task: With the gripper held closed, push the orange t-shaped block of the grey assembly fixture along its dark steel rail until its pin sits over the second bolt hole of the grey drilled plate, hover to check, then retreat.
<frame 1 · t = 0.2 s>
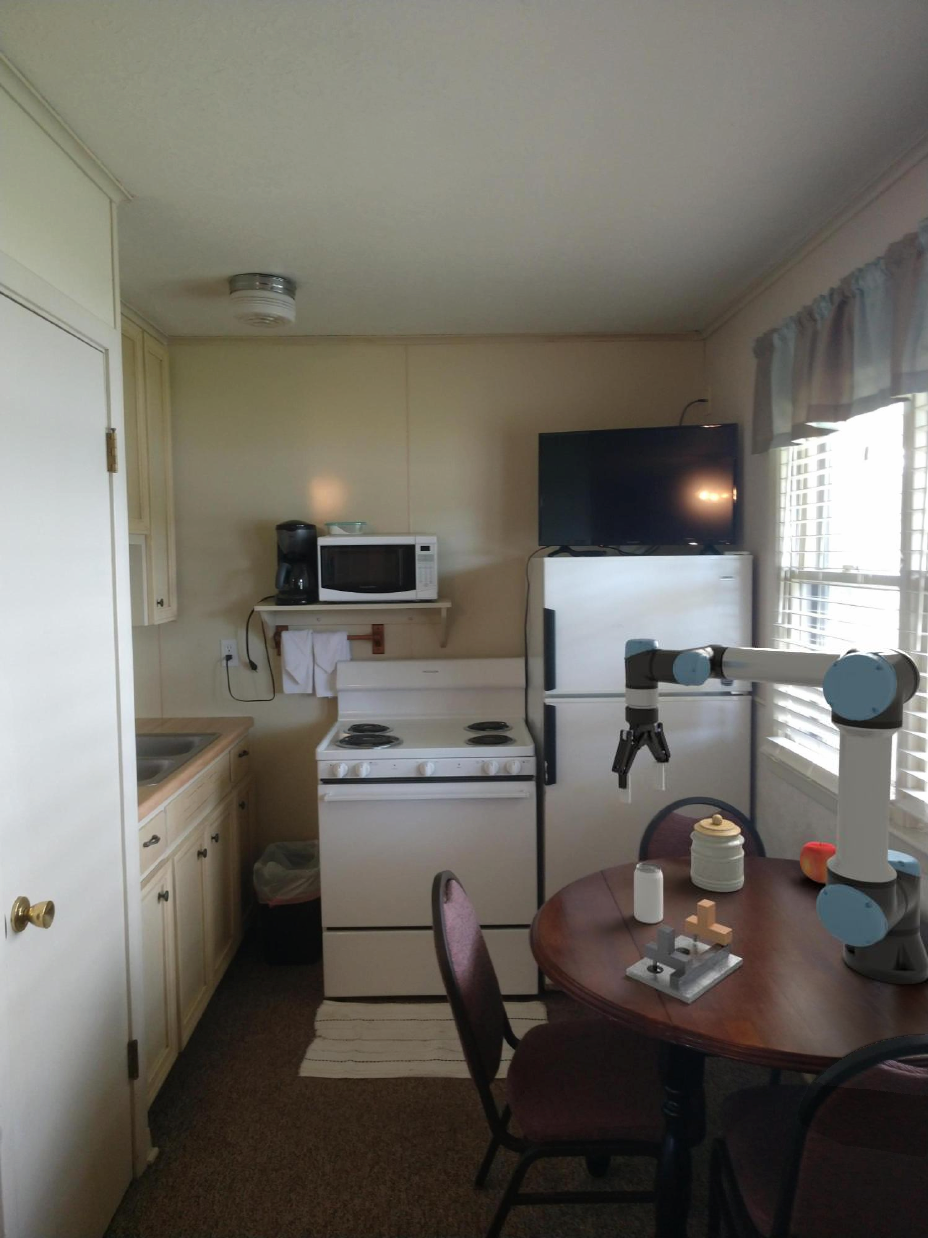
hand: (642, 795, 178), 27 cm above the table, fingers open, 13 cm apart
jar: (717, 883, 194), on the table
can: (648, 919, 175), on the table
apple: (820, 882, 194), on the table
orange t-shaped block: (708, 925, 158), point 6 cm above the table, slide at 0.0 cm
grey assembly fixture: (685, 969, 153), on the table
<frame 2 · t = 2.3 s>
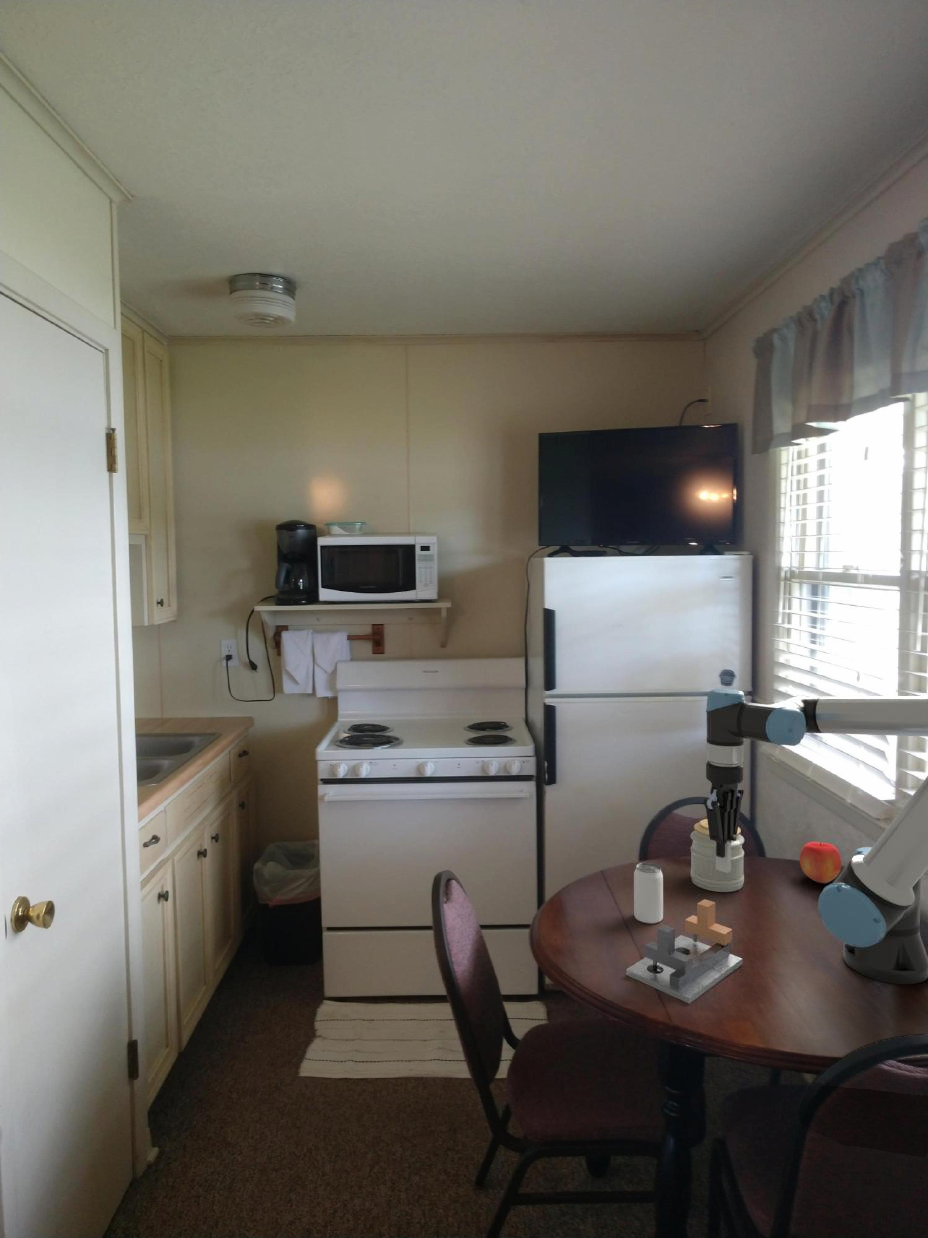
hand: (723, 870, 163), 16 cm above the table, fingers closed
nothing on the table moved.
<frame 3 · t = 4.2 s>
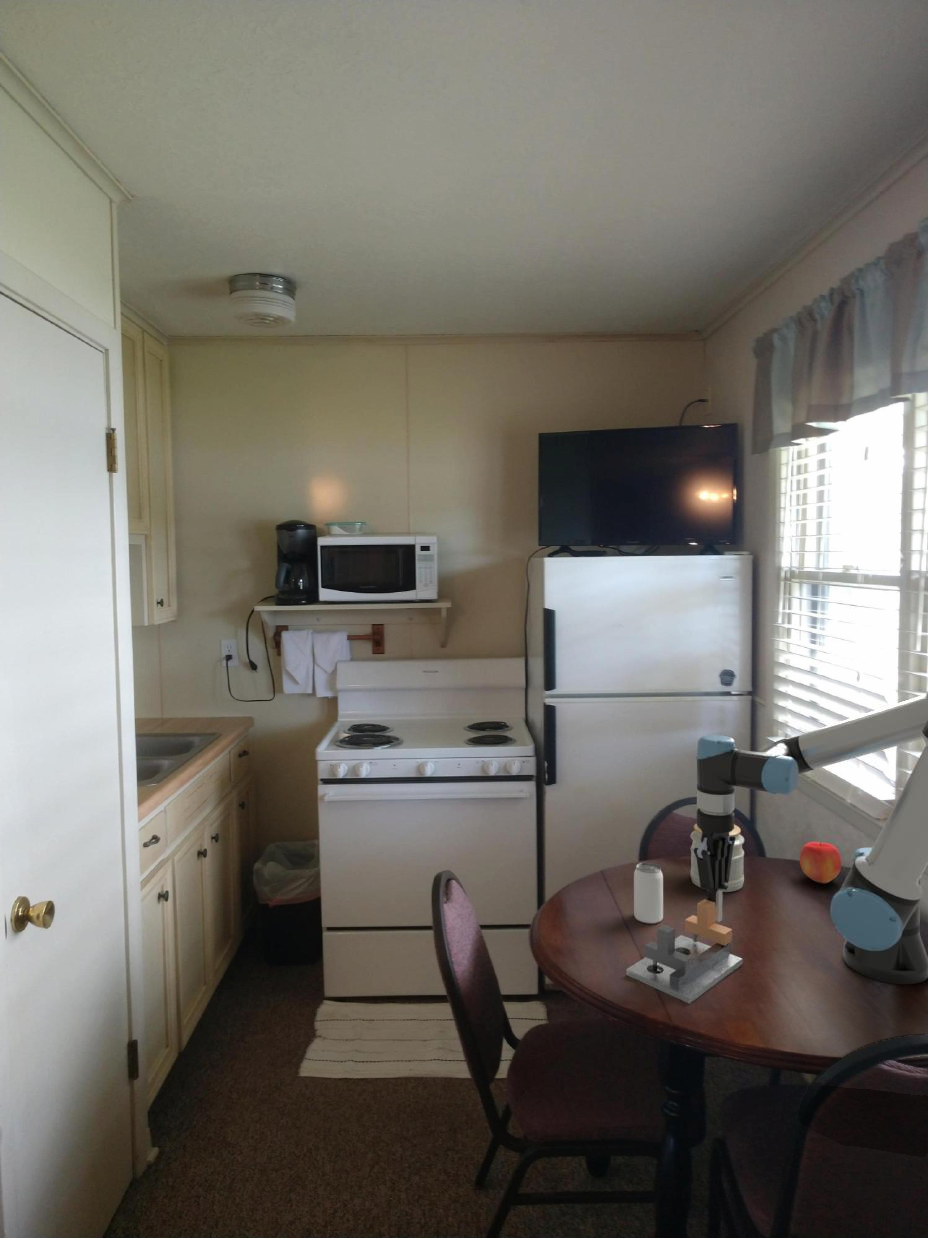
hand: (714, 918, 161), 6 cm above the table, fingers closed
orange t-shaped block: (708, 925, 158), point 6 cm above the table, slide at 0.0 cm, touching gripper
everything else where it was.
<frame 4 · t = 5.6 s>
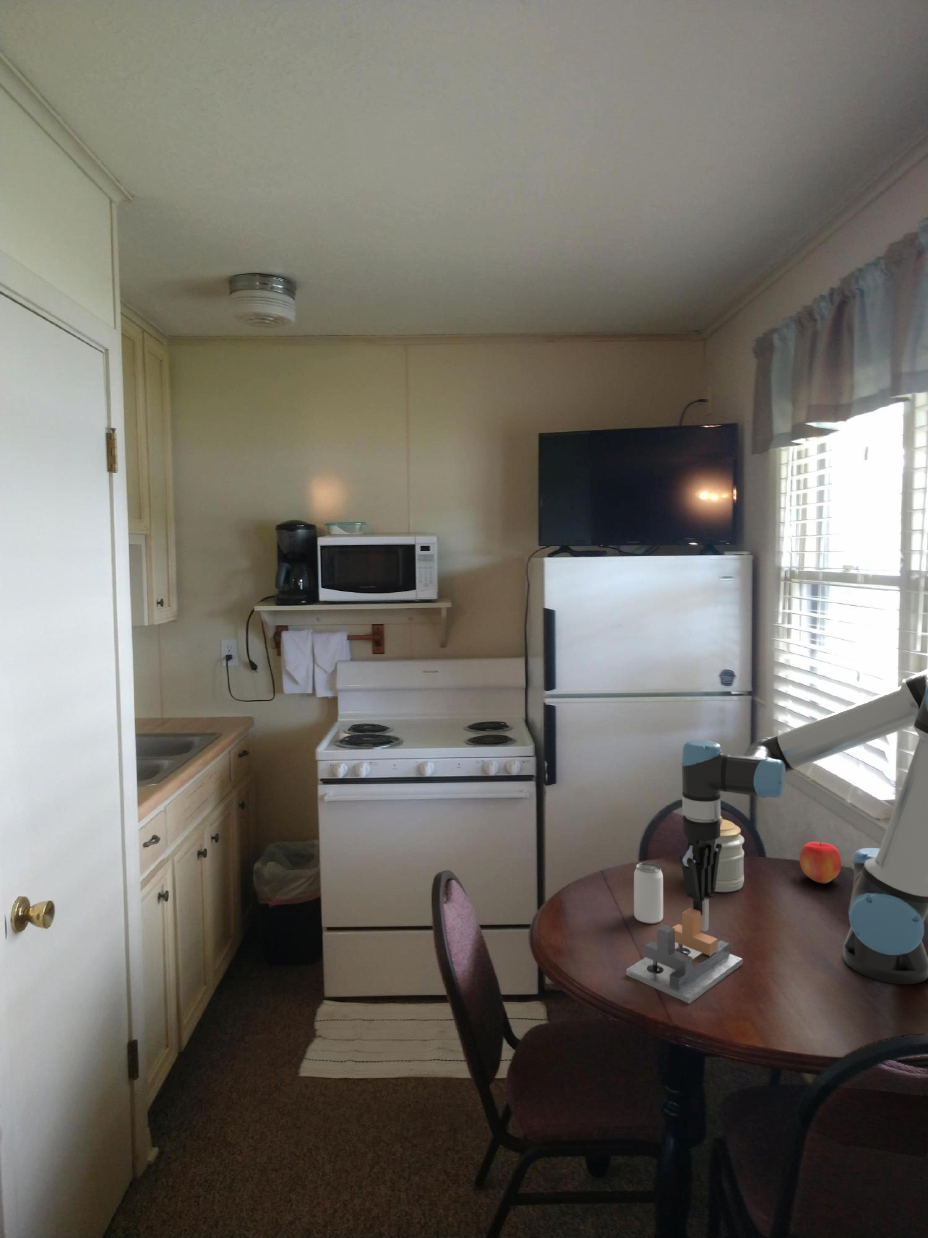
hand: (700, 928, 157), 6 cm above the table, fingers closed
orange t-shaped block: (693, 934, 154), point 6 cm above the table, slide at 5.8 cm, touching gripper
everything else where it was.
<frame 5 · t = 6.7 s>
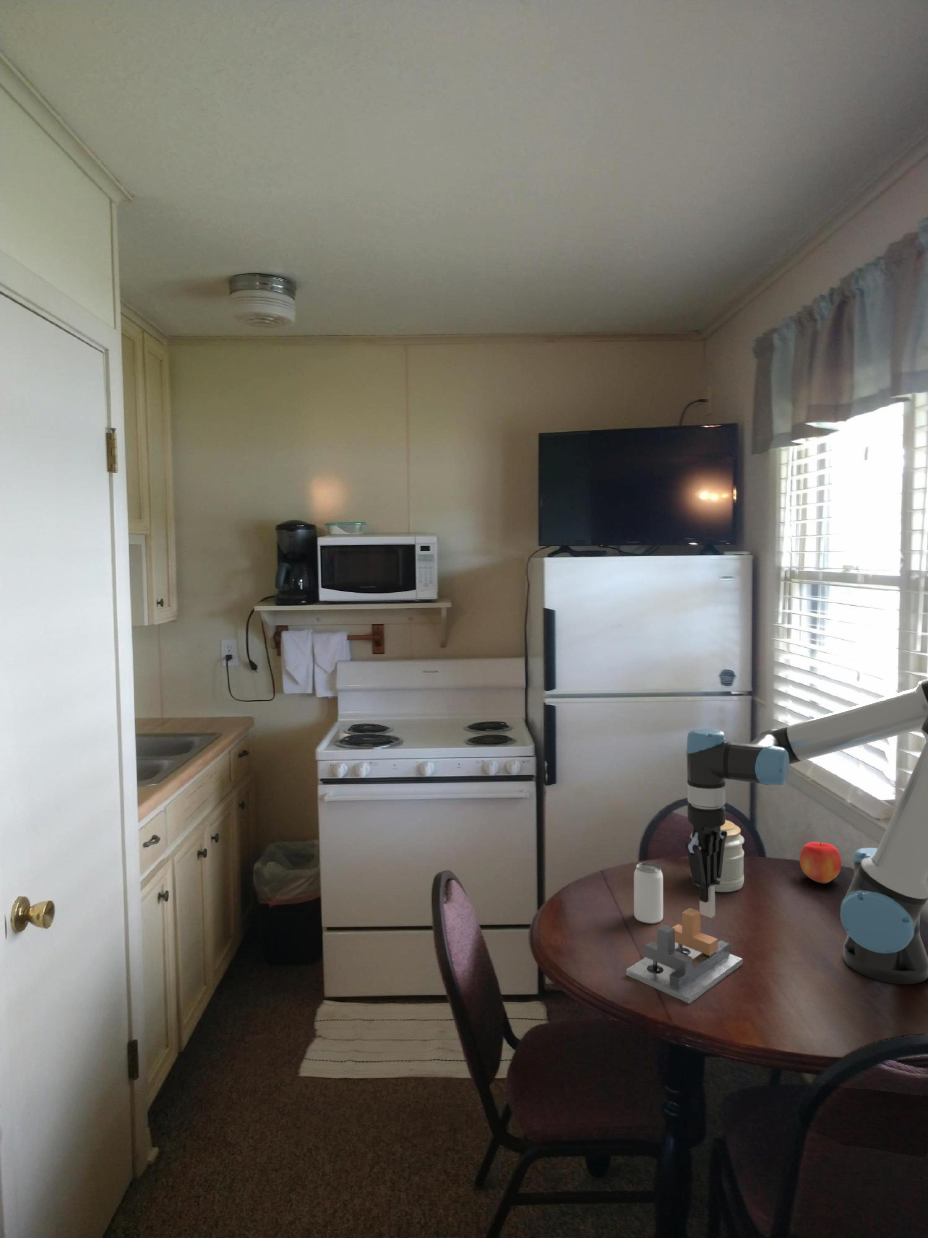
hand: (707, 914, 159), 8 cm above the table, fingers closed
orange t-shaped block: (693, 934, 154), point 6 cm above the table, slide at 5.8 cm
everything else where it was.
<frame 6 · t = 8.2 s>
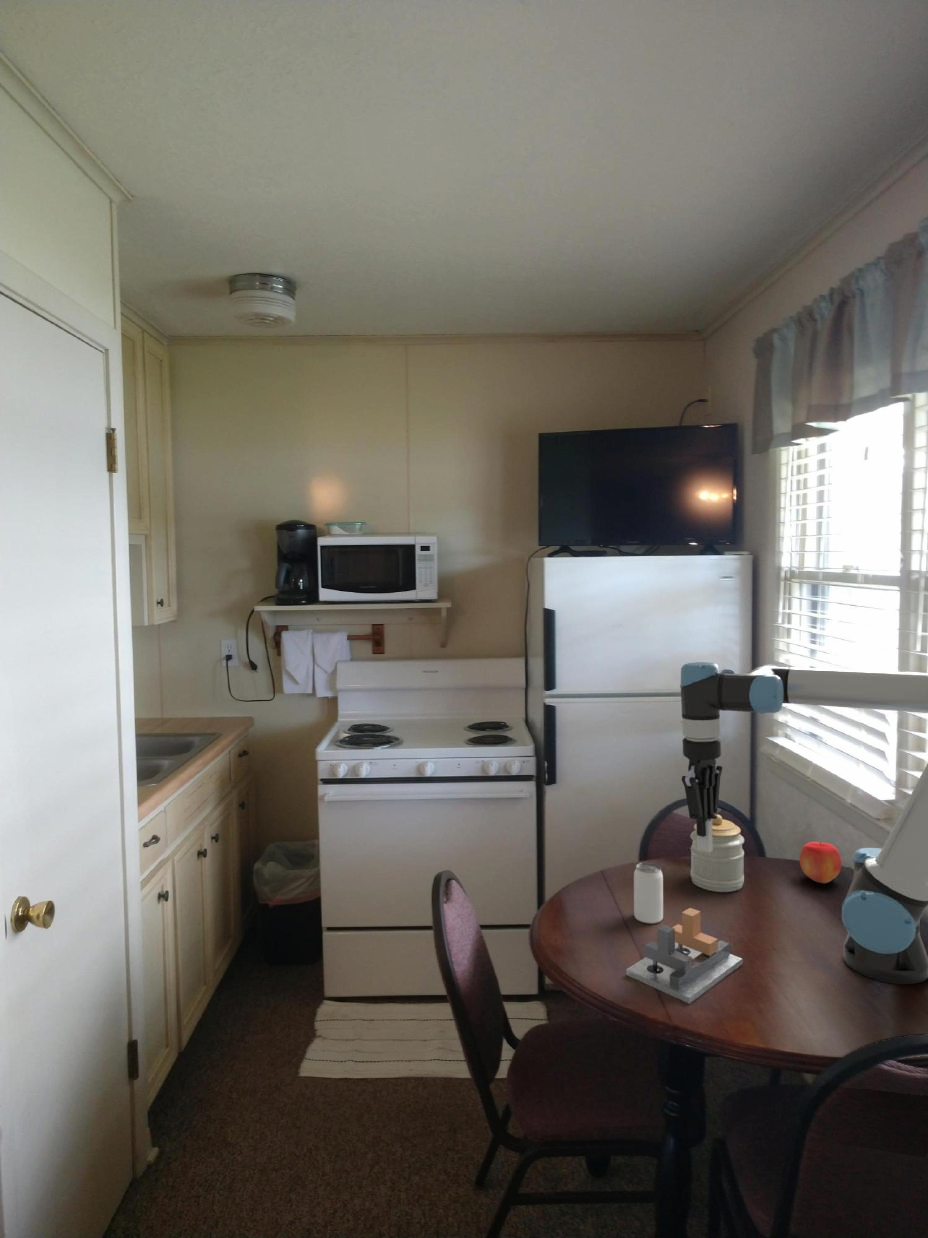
hand: (704, 850, 158), 22 cm above the table, fingers closed
nothing on the table moved.
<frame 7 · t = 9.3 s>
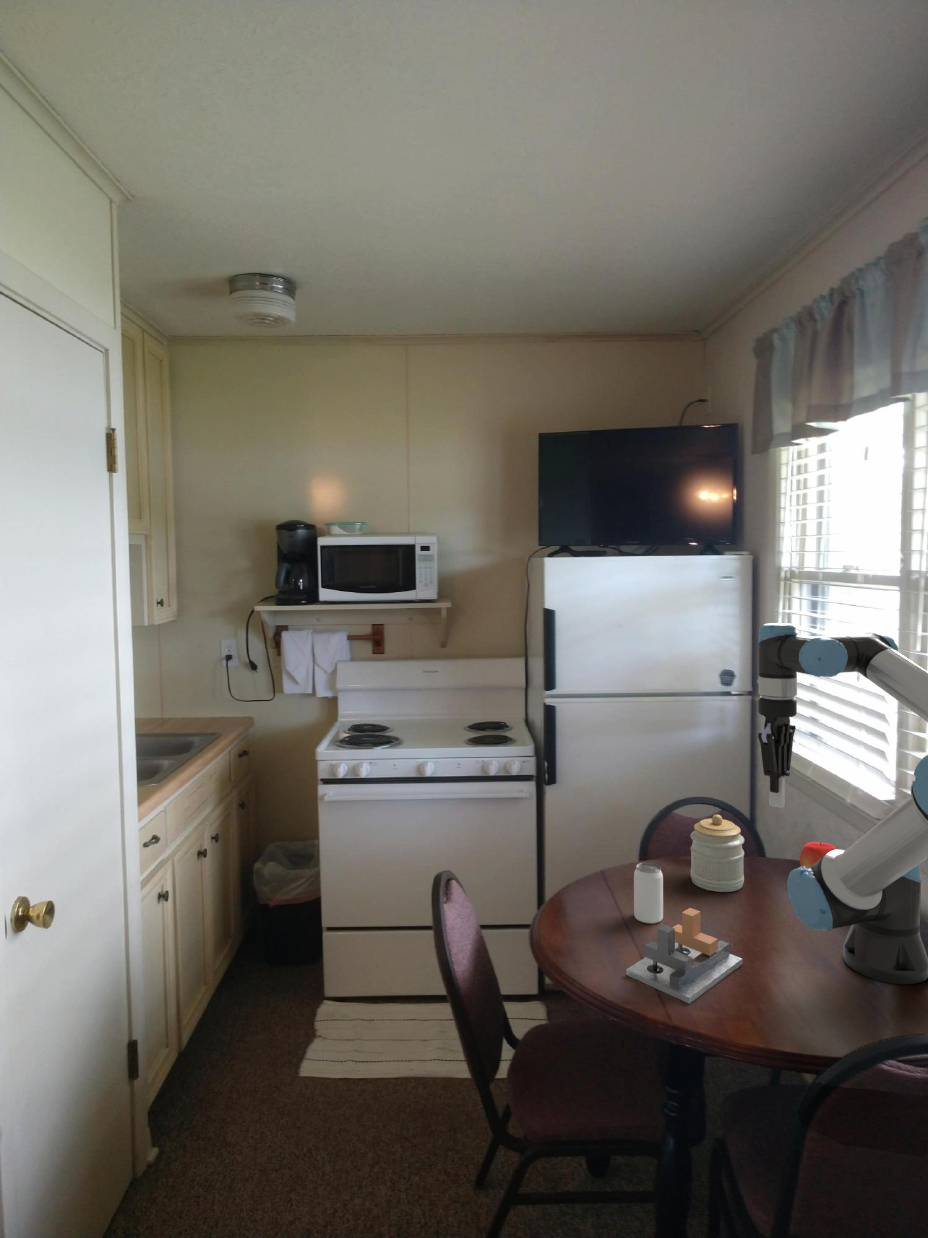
hand: (776, 806, 162), 29 cm above the table, fingers closed
nothing on the table moved.
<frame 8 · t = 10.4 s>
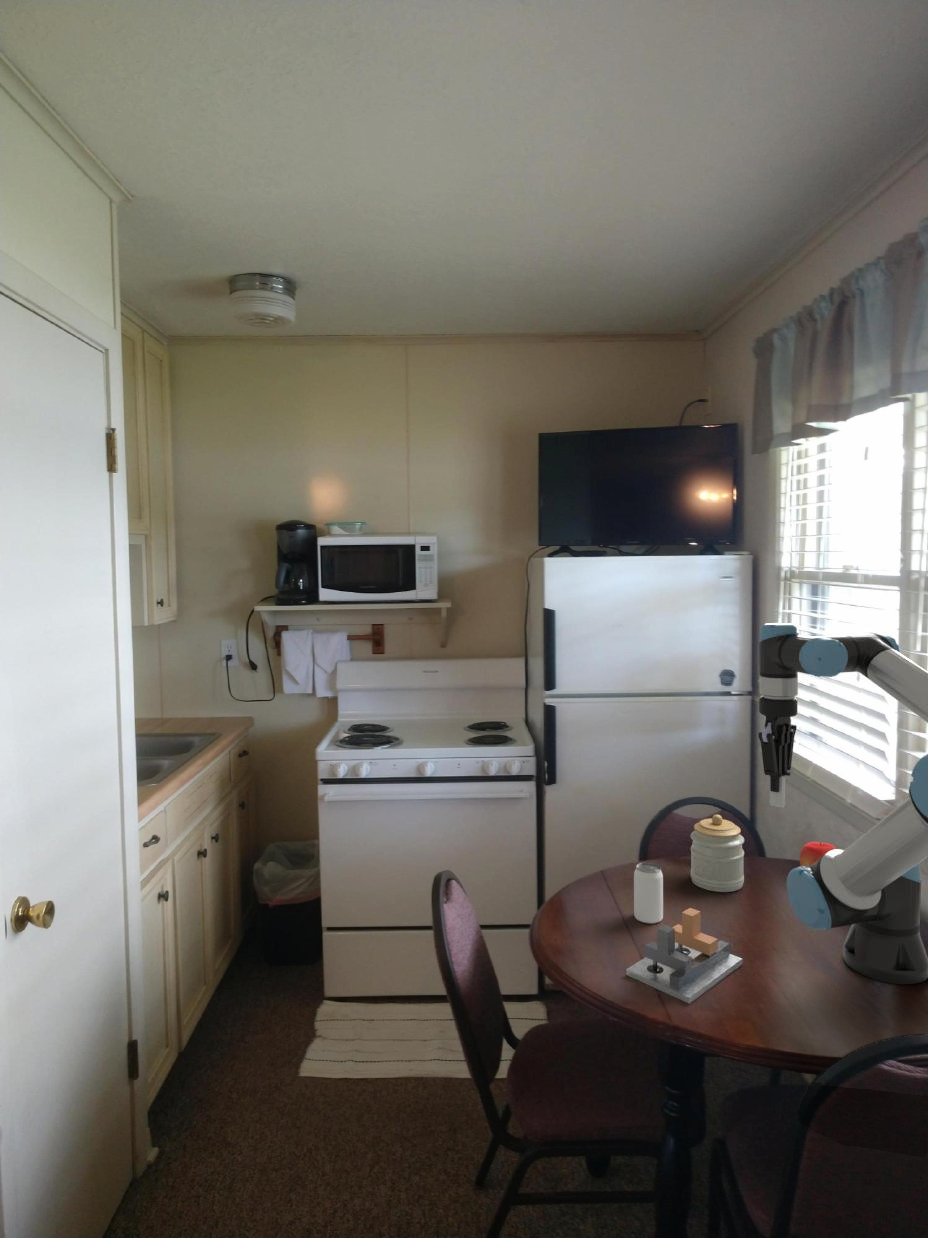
hand: (777, 805, 162), 29 cm above the table, fingers closed
nothing on the table moved.
at the end: orange t-shaped block slide at 5.8 cm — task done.
